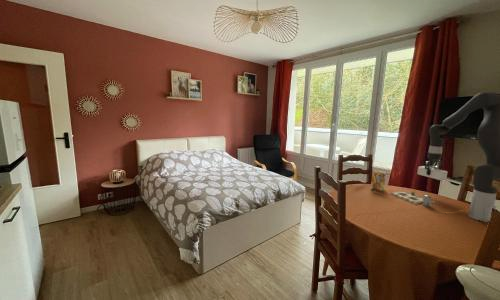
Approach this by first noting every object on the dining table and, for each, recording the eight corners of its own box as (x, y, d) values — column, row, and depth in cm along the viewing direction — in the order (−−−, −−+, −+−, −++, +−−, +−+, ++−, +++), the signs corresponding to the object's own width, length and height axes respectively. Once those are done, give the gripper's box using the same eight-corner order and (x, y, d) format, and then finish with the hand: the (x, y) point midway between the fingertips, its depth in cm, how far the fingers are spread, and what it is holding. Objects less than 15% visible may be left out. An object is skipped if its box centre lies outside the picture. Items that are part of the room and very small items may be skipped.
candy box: (384, 190, 175) (386, 172, 172) (382, 191, 172) (384, 173, 169) (372, 187, 181) (374, 170, 179) (370, 189, 178) (372, 171, 176)
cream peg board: (425, 203, 150) (426, 200, 149) (414, 205, 147) (415, 201, 147) (401, 194, 167) (401, 191, 166) (391, 195, 164) (391, 192, 164)
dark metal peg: (431, 208, 143) (433, 196, 142) (426, 208, 142) (428, 197, 141) (425, 205, 147) (426, 194, 146) (420, 206, 146) (422, 194, 145)
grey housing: (446, 179, 153) (447, 171, 152) (440, 180, 151) (441, 171, 150) (422, 173, 168) (423, 166, 167) (417, 174, 166) (418, 166, 165)
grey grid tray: (436, 203, 151) (436, 197, 150) (428, 204, 149) (429, 198, 148) (408, 193, 170) (409, 188, 169) (401, 193, 168) (402, 189, 167)
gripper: (433, 153, 151) (429, 176, 154) (447, 152, 155) (444, 175, 158) (422, 151, 158) (419, 173, 161) (436, 151, 162) (433, 172, 165)
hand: (431, 174), depth 159 cm, fingers closed on grey housing, 6 cm apart
